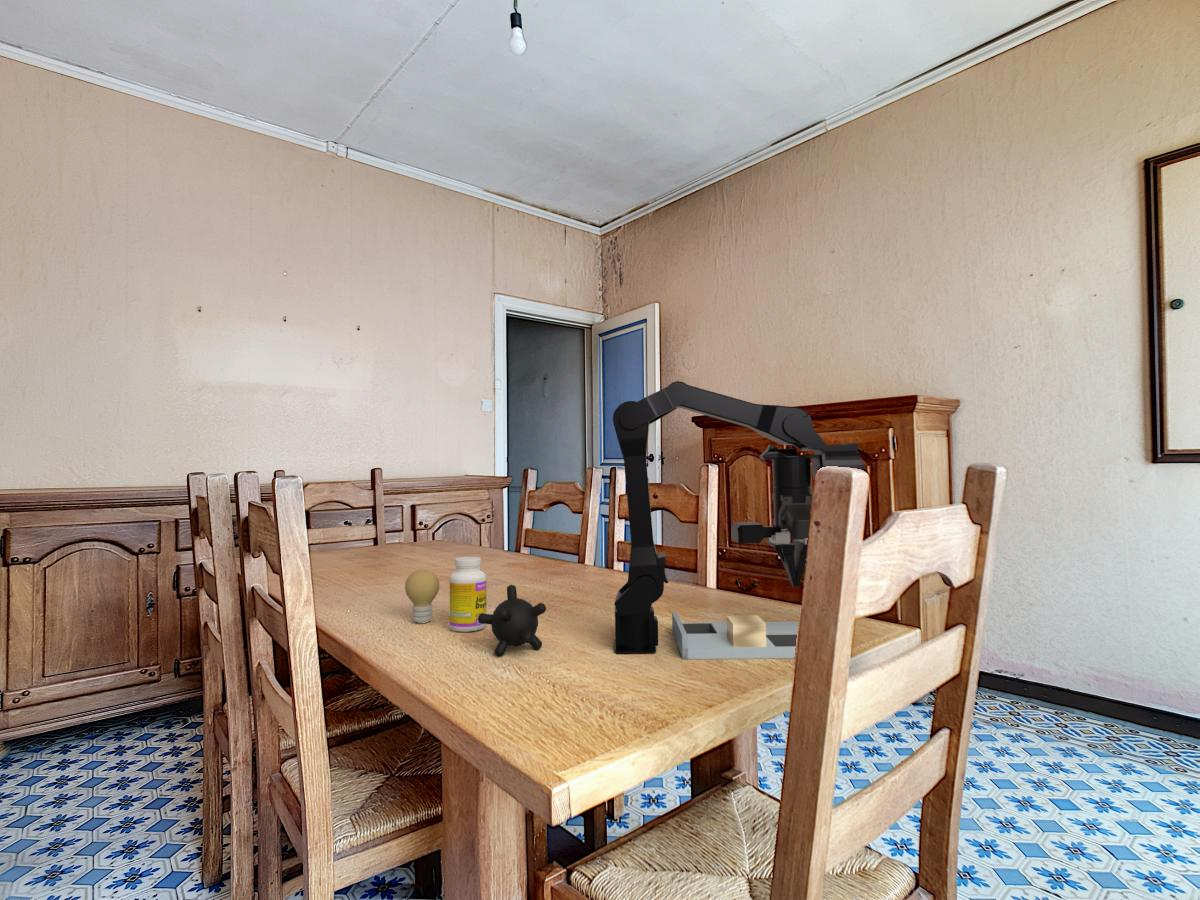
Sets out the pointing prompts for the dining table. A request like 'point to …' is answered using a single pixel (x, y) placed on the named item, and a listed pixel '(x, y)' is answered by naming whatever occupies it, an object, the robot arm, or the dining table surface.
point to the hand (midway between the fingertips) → (795, 586)
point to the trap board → (715, 645)
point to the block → (746, 631)
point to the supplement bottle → (467, 595)
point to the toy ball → (514, 622)
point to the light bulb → (422, 593)
